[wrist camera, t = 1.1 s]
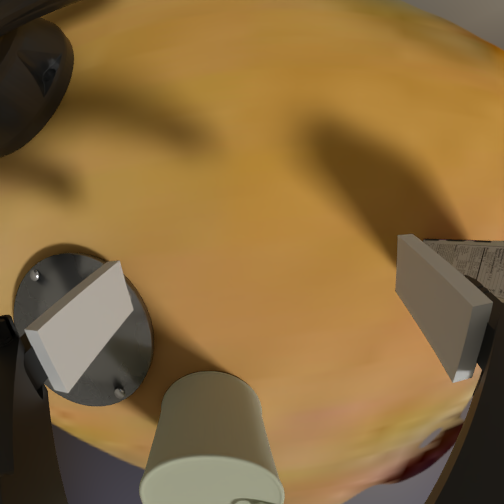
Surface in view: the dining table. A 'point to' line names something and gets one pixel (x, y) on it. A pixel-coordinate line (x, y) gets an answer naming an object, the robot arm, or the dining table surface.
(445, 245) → the candy bar box
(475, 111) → the dining table surface
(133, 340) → the flange plate
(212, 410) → the can
